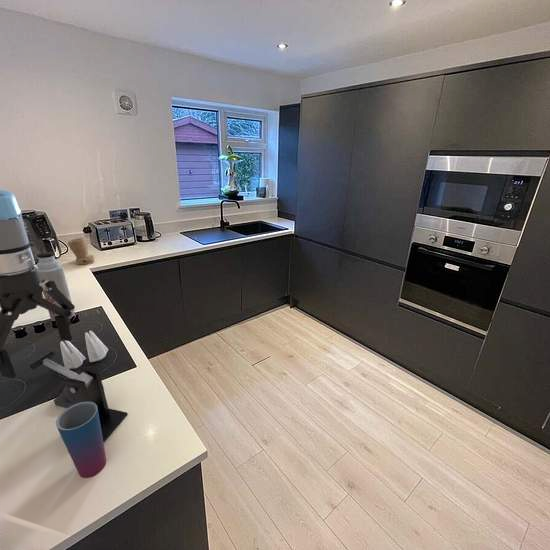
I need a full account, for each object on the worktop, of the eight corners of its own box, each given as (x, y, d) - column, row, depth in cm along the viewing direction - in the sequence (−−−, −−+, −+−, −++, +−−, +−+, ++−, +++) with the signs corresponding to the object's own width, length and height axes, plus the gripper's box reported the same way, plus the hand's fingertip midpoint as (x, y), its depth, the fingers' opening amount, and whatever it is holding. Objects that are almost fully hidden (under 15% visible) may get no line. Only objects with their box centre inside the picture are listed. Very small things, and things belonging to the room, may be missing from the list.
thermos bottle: (61, 325, 112) (42, 258, 102) (46, 322, 115) (26, 255, 104) (80, 316, 120) (63, 252, 109) (66, 313, 122) (48, 249, 111)
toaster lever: (29, 369, 65) (29, 361, 64) (49, 355, 69) (50, 348, 68) (79, 395, 64) (80, 388, 63) (97, 380, 69) (98, 373, 68)
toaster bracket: (61, 437, 68) (43, 384, 62) (91, 407, 76) (78, 358, 70) (101, 447, 66) (86, 393, 60) (128, 415, 74) (117, 366, 68)
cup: (85, 453, 64) (69, 401, 59) (116, 451, 65) (103, 400, 59) (66, 484, 58) (47, 430, 53) (101, 483, 59) (86, 429, 53)
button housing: (55, 406, 76) (51, 394, 75) (80, 385, 84) (77, 374, 82) (80, 412, 75) (77, 400, 73) (104, 390, 82) (101, 379, 80)
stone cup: (73, 259, 185) (67, 237, 179) (94, 257, 190) (90, 235, 185) (71, 267, 172) (65, 242, 167) (94, 264, 178) (89, 240, 172)
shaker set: (109, 353, 97) (102, 325, 93) (109, 360, 94) (102, 331, 90) (66, 364, 92) (57, 334, 88) (65, 372, 88) (56, 341, 84)
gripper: (-51, 298, 46) (-8, 399, 54) (79, 254, 69) (96, 329, 77) (-85, 292, 48) (-38, 392, 55) (53, 251, 70) (73, 325, 78)
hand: (40, 356), depth 66 cm, fingers open, 13 cm apart
